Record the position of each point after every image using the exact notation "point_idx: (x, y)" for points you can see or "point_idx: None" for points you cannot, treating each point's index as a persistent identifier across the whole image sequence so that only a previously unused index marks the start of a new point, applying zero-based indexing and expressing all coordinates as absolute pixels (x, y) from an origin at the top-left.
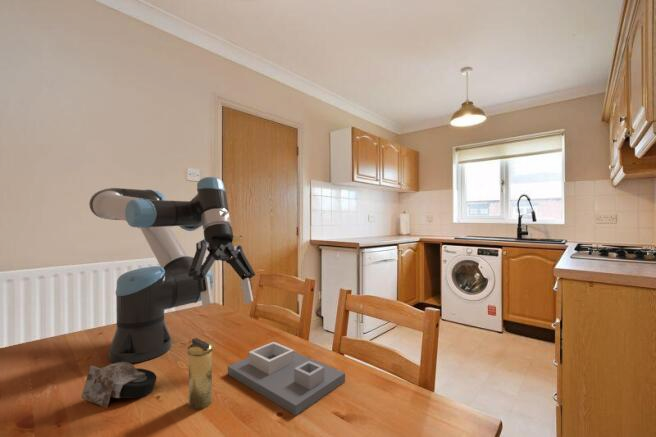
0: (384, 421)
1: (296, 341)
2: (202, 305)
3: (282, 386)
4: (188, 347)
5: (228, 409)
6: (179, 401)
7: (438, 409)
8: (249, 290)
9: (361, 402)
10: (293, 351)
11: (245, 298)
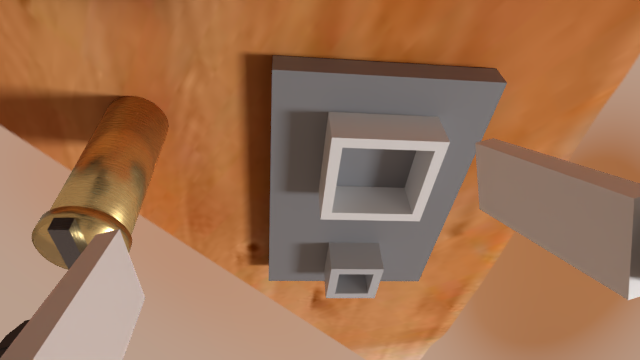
0: (342, 327)
1: (613, 60)
2: (94, 238)
3: (298, 238)
4: (36, 229)
5: (184, 182)
6: (87, 71)
7: (405, 349)
8: (530, 239)
9: (366, 300)
10: (415, 219)
11: (496, 172)
